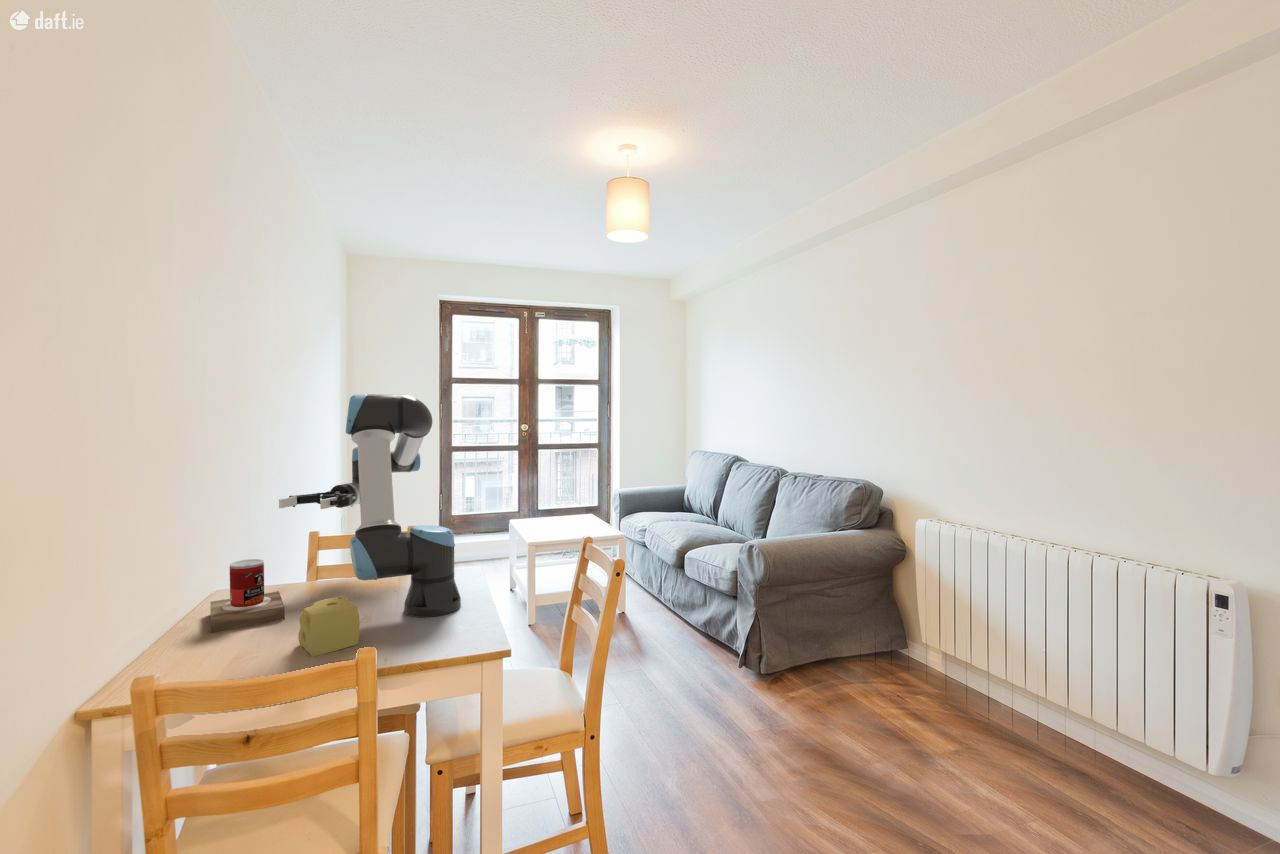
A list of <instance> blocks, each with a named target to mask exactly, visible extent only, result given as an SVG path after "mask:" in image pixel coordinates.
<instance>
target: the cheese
mask: <svg viewBox="0 0 1280 854" xmlns="http://www.w3.org/2000/svg"><path fill="white" fill-rule="evenodd" d="M360 621H361V620H360V613H359V608H358V605H357V604H355V603H354V602H352V601H350V600H349V599H347V598H346V597H345V596H344V595H343V596H342V595H341V596H337V597H330V598H324V599H321V600H317V601H315V602H313V603H312V604H311V605H310V606H308V607H304V608H303V610H302V611H301V613H300V615H299V626H300V629H299V631H298V637H297V638H298V643H299V645H300V646H301V647H302V648H304V650H306V652H307V653H308V655H310V656H311V657H312V658H314V657H318V656H321V655H325V654H329V653H332V652H335V651H340V650H343V649H346V648H350V647H354V646H358V642H359V637H360V623H361V622H360Z"/></svg>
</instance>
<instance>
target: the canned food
mask: <svg viewBox="0 0 1280 854" xmlns="http://www.w3.org/2000/svg"><path fill="white" fill-rule="evenodd" d="M264 594H265V561H264V560H262V559H259V558H258V559H256V558H253V559H249V558H248V559H241V560H238V561H234V562H232V563H230V564H229V599H230V603H231V605H232V606H233V607H248V606H253V605H257V604H259V603H261V602H263V600H264Z"/></svg>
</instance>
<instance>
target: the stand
mask: <svg viewBox="0 0 1280 854" xmlns="http://www.w3.org/2000/svg"><path fill="white" fill-rule="evenodd" d="M209 608H210V609H209V611H210V613H209V616H210V619H209V621H210V623H209V624H210V626H209V627H210V629H209V631H210V633H216V632H221V631H227V630H234V629H239V628H243V627H249V625H250V626H254V625H255V624H256V625H261V624H266V622H267V623H272V622H277V621H276V620H278V621H283V620H282V619H284V620H285V615H286V614H285V613H286V612H285V604H284V601H283V598H282V596H281V594H280V591H272V592H271V591H270V592H264V600H263V602H261V603H259V604H257V605H253V606H248V607H233V606H232V605H231V603H230V598H226V599H221V600H214V601H210V607H209ZM271 621H272V622H271ZM260 623H261V624H260ZM256 625H255V626H256Z"/></svg>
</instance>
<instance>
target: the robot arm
mask: <svg viewBox="0 0 1280 854" xmlns="http://www.w3.org/2000/svg"><path fill="white" fill-rule="evenodd" d="M346 417H347V418H346V425H345V433H346V434H347V435H349V436H350V437H351V441H352V442H353V443H354V444H356V445H357V446H356V447H353V449H352V450H351V451H352V453H351V471H352V473H351V476H352V477H351V478H352V479H351V480H352V481H351V482H348V483H342V484H336V485H335V486H333V487H332V488H331V489H330V490H329V491H326V492H325V491H324V492H316V493H307V494H298V495H297V494H296V495H289V496H288V497H284V498H280V499H278V508H279V509H285V508H289V507H290V508H291V507H292V508H296V506H298V505H304V504H305V505H306V504H318V505H320V510H325V509H329V508H334V507H335V508H339V509H343V508H347V507H351V508H354V506H355V505H358V504H359V512H360V525H359V527H357V528H356V530H355V531H354V533H355V534H354V535H355V536H353V537H350V539H349V551H350V559H351V564H352V567H353V571H354V575H355V577H356V579H358V580H359V581H371V580H374V581H377V580H379V579H387V578H388V579H389V578H394V577H397V578H398V577H404V576H410V585H409V589H408V591H407V594H406V597H405V600H404V607H403V608H404V613H405V614H406V615H408V616H411V617H417V618H418V617H420V618H422V617H423V618H425V617H426V618H427V617H428V618H429V617H438V616H443V615H446V614H450V613H453V612H455V611H457V610H458V609H460V608H461V604H462V600H461V599H462V597H461V595H460V592H459V589H458V586H457V583H456V580H455V546H456V544H455V535H454V534H455V533H454V532H453V530H452V529H450V528H448V527H445V526H441V525H440V526H439V525H428V524H419V525H413V526H411V527H410V529H409V532H403V531H402V526H401V525H400V524H399V523H397V522H396V517H395V505H394V490H393V489H394V487H393V473H411V472H418V471H419V470H420V468H421V455H420V452H419V450H420V448H421V445H422V443H423V440H424V438H425V437H426V436H427V435H428V434H429V433H430V432H431V429H432V426H433V416H432V413H431V411H430V409H429V408H428V406H427V405H426V404H425V403H424V402H423V401H421V400H420V399H418V398H417V397H414V396H412V395H407V394H371V393H370V394H369V393H365V394H353V395H352V396H350V398H349V401H348V409H347V416H346ZM396 434H398V437H397V440H396V444H395V447H394V450H392V451H391V442H392V441H394V440H395V438H396Z"/></svg>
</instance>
